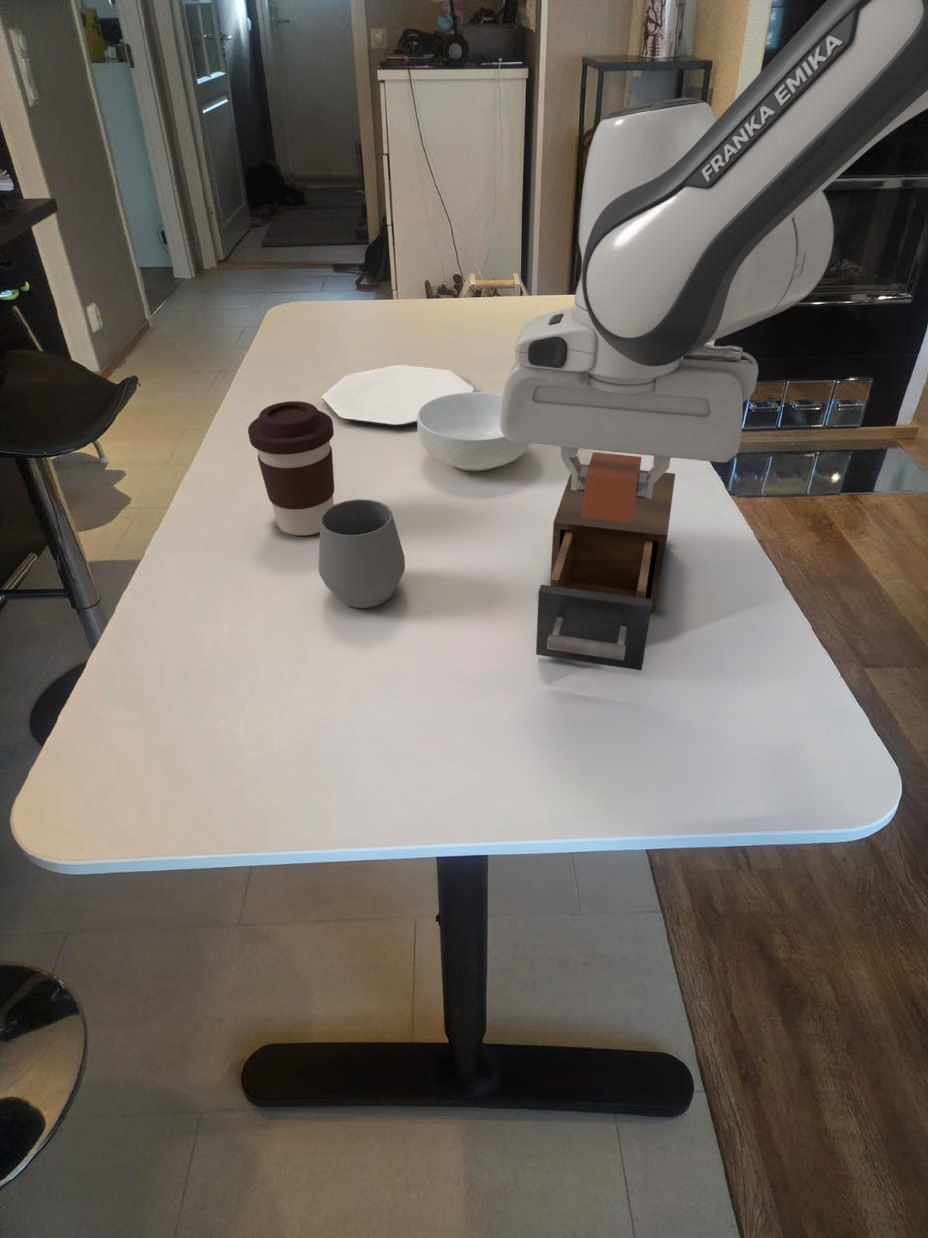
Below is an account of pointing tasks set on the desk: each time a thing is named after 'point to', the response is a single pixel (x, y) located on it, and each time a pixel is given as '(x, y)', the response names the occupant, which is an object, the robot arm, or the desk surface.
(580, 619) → the drawer
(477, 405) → the cereal bowl
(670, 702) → the desk surface
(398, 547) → the cup
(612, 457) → the block
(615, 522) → the cabinet
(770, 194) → the robot arm
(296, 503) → the coffee cup
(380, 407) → the plate
